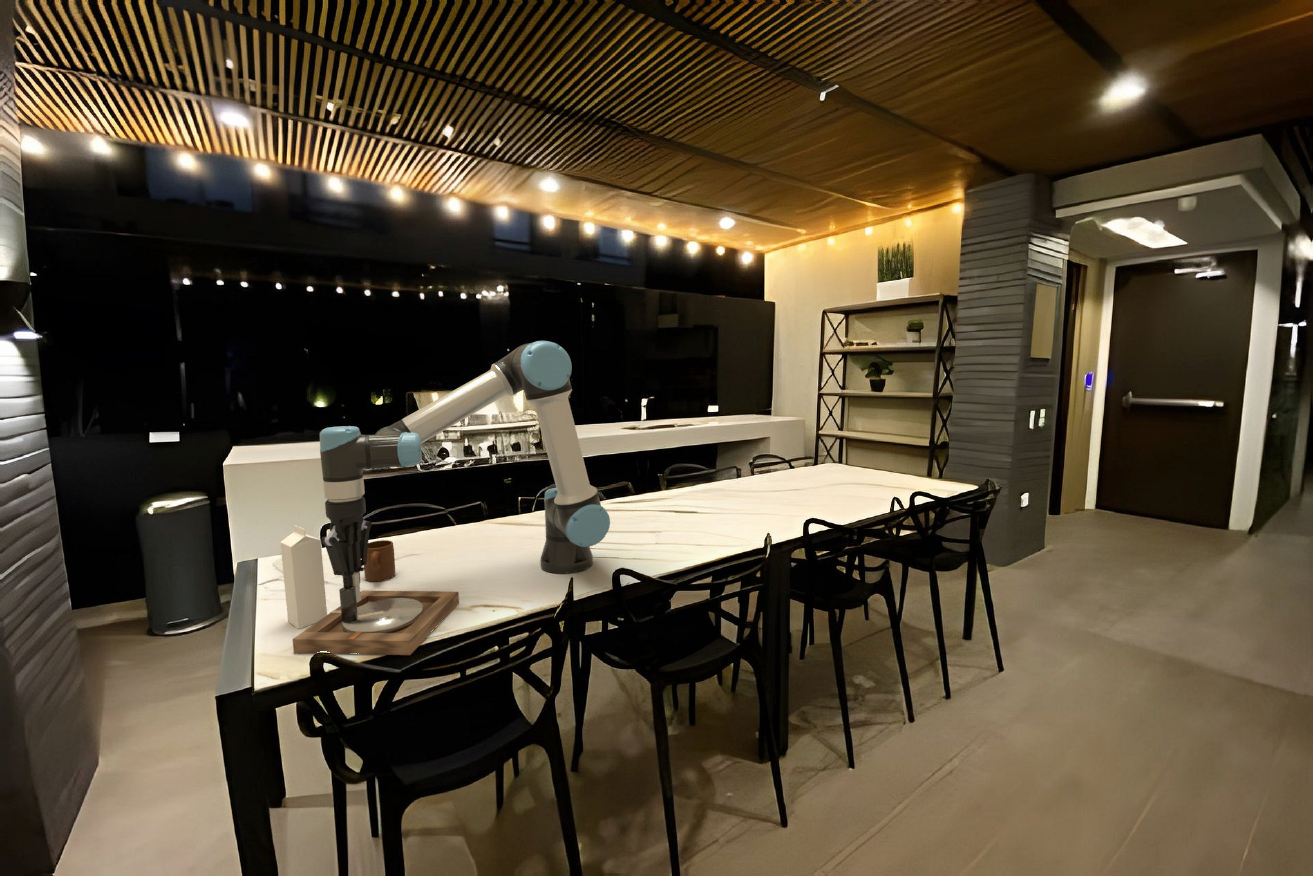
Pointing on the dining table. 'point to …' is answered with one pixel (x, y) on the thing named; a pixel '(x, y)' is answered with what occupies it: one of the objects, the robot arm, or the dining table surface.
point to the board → (398, 642)
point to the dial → (377, 613)
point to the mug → (380, 561)
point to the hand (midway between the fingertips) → (353, 600)
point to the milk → (303, 578)
